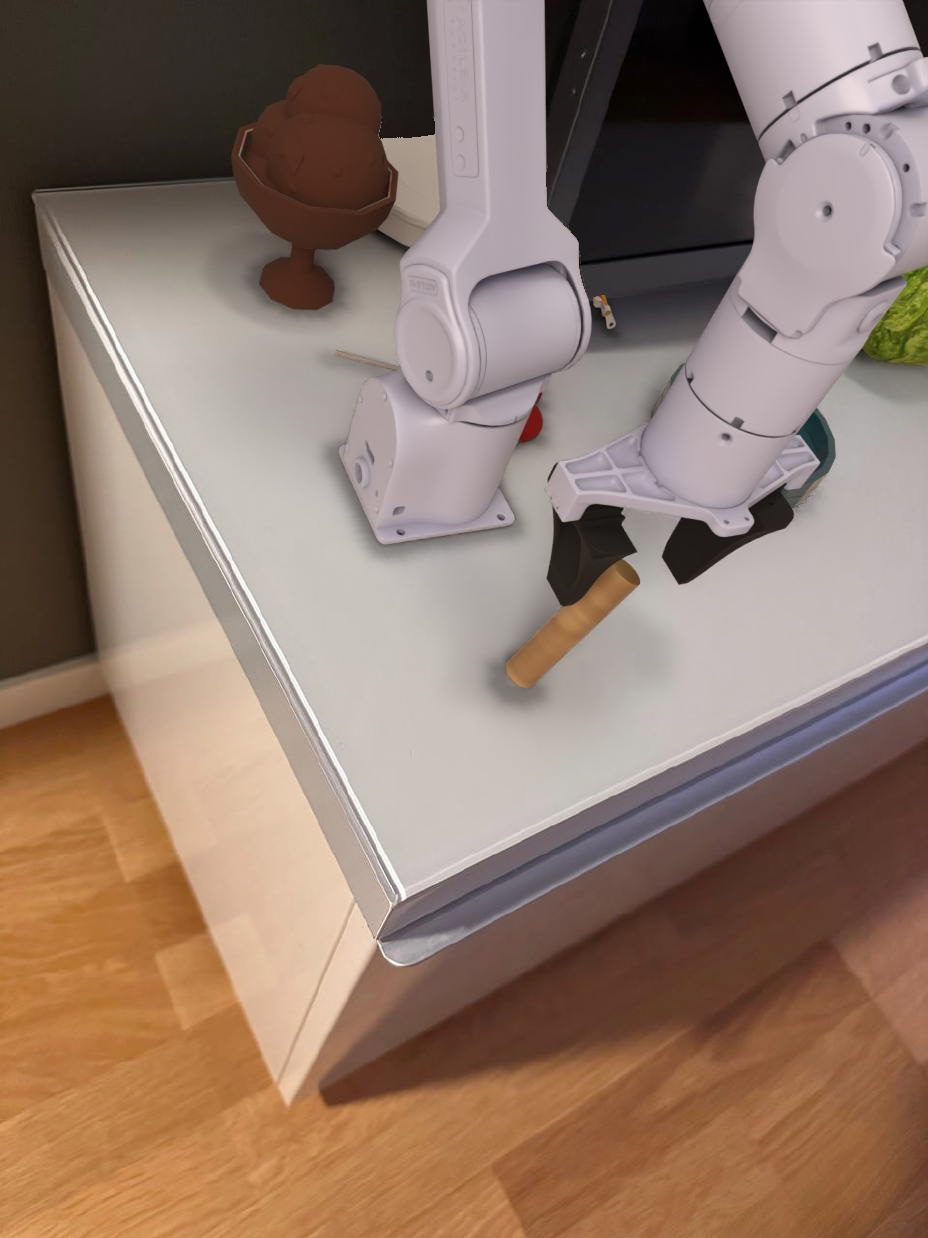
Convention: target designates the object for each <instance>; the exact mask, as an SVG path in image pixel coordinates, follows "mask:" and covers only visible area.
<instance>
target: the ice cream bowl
mask: <svg viewBox="0 0 928 1238" xmlns="http://www.w3.org/2000/svg"><path fill="white" fill-rule="evenodd" d="M371 85H372V84H370V83H369V81H368V80H367V79H366V77H363V76H362V75H361V74H360V73H358V72H356V71H355V70H354V69H351V68H349V67H345V66H341V65H337V64H335V65H334V64H323V63H318V64H316V65H315V66H314V68H310V69H309V70H307V71H306V72H305V73H304V74H303V75H300V76H298V77H296V78H294V80H292V82H291V83H290V85H289V86H288V89H287V92H286V97H285V99H283V100H278V101H277V102H274V103H273V104H269V105H267V106H266V107H265V108H264V110H263V112H261V114H260V115H259V117H258V118H257V121H256V122H252V123H250V124H246V125H244V126H240V127H239V128H238V130H237V134H236V137H235V139H234V144H233V148H232V151H231V153H230V159H231V166H232V176H233V180H234V181H235V184H236V188H237V190H238V192H239V194H240V197H241V198H242V199H243V200H244V201H245V203H246V204H247V205H248V206H249V208H250V209H251V210H252V212H254V214H255V215H256V216H257V217H258V219H259V220H260V221H261V222H262V224H263V225H264V226H265V227H266V228H267V229H268V230H269V232H270V233H271V234H273V235H275V236H276V237H278V238H280V239H282V240H283V241H286V242H288V243H291V250H290V255H289V257H288V256H284V257H283V256H280V257H278V258H275V259H274V260H271V261H269V262H266V263H265V264H264V265H263V267H262V270H261V274H260V278H259V281H258V282H259V283H258V284H259V286H260V287H261V288H262V290H263V291H264V293H265V294H266V295H267V296H268V297H269V299H270V300H272V301H275V302H276V303H278V304H281V305H283V306H284V307H285V306H286V307H287V308H290V309H292V310H307V311H308V310H309V311H317V310H320V309H321V308H323V307H325V306H328V305H330V304H331V303H333V302H334V294H335V281H334V280H333V279H332V277H331V276H330V275H329V274H328V272H327V271H326V270H325V269H324V268H323V266H321V265H318V264H316V263H315V262H314V261H315V255H316V251H317V250H322V251H334V250H335V251H337V250H339V249H340V248H343V247H346V246H347V245H349V244H351V243H353V242H356V241H358V240H360V239H362V238H363V237H366V236H368V235H370V234H372V233H374V232H376V231H377V230H378V228H379V227H380V226H381V224H382V223H383V222H384V221H385V220H386V219H387V218H388V215H389V213H390V211H391V209H392V207H393V205H394V203H395V201H396V194H397V184H398V173H399V172H398V171H397V170H396V169H395V168H394V167H393V166H392V165H391V163H390V162H389V161H388V160H387V156H386V153H385V150H384V147H383V144H382V141H381V139H380V137H379V132H380V128H381V123H382V122H381V118H382V110H383V109H382V103H381V101H380V100H379V98H378V94H377V93H376V91H375V89H374V88H373V87H372V86H371Z"/></svg>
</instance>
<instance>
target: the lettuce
mask: <svg viewBox="0 0 928 1238" xmlns="http://www.w3.org/2000/svg"><path fill="white" fill-rule="evenodd" d="M899 276H903V277H904V278H905V279H906V281H907V285H906V286H905V288H904V289H903V290H902V292H901V293H900V294H899V296H898V297H897V298H896V300H895V301H894V302H893V304H892V305H891V306H890V308H889V309H888V310H887V312H886V313H885V314H884V316H883V317H882V318H881V320H880V321H879V322H878V324H877V325H876V326H875V328H874V329H873V330H872V332H871V333H870V335H869V337H868V339H867V341H866V342H865V344H864V346H863V347H862V348H861V350H862V351H863V352H864V353H865V354H867V355H868V356H869V357H871V358H872V359H873V360H874V361H876V362H878V363H884V364H892V365H903V366H904V365H905V366H920V367H921V366H923V367H928V265H927V266H924V267H921V268H919V269H916V270H913V271H910V272H908V273H905V274H902V275H899Z"/></svg>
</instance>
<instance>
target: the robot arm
mask: <svg viewBox="0 0 928 1238" xmlns="http://www.w3.org/2000/svg"><path fill="white" fill-rule="evenodd" d="M702 2H703V4H704V6H705V8H706V11H707V14H708V16H709V20H710V22H711V24H712V27H713V31H714V32H715V35H716V37H717V40H718V43H719V45H720V47H721V50H722V53H723V54H724V58H725V60H726V64H727V66H728V68H729V72H730V74H731V76H732V78H733V81H734V84H735V86H736V89H737V91H738V94H739V97H740V99H741V102H742V104H743V107H744V110H745V112H746V115H747V118H748V120H749V123H750V126H751V128H752V131H753V134H754V136H755V139H756V141H757V143H758V147H759V149H760V151H761V155H762V157H763V159H764V162H765V164H764V166H763V168H762V171H761V174H760V176H759V180H758V183H757V186H756V191H755V195H754V202H753V203H754V204H753V227H754V231H753V232H754V235H753V242H752V247H751V249H750V252H749V254H748V255H747V257H746V258H745V260H744V262H743V264H742V265H741V267H740V268H739V270H738V271H737V273H736V275H735V276H734V278H733V279H732V282H731V284H730V286H729V287H728V289H727V290H726V292H725V294H724V295H723V297H722V299H721V301H720V303H719V304H718V306H717V307H716V309H715V311H714V313H713V314H712V315H711V318H710V319H709V321H708V323H707V325H706V326H705V328H704V330H703V331H702V333H701V334H700V336H699V338H698V340H697V342H696V343H695V345H694V347H693V349H692V350H691V352H690V353H689V356H687V359H686V360H685V361H684V362H683V363H684V365H683V367H682V369H681V370H680V372H679V374H678V375H677V377H676V379H675V380H674V382H673V384H672V386H671V387H670V389H669V391H668V392H667V394H666V396H665V398H664V399H663V401H662V403H661V404H660V406H659V408H658V410H657V411H656V413H655V415H654V416H653V415H652V418H651V420H649V421H647V422H646V423H643V424H642V425H640V426H638V427H636V428H635V429H632V430H630V431H628V432H627V433H624V434H623V435H621V436H619V437H618V438H615V439H613V440H611V441H610V442H608V443H606V444H604V445H602V446H600V447H599V448H596V449H595V450H592V451H591V452H588V453H586V454H584V455H581V456H579V457H575V458H569V459H561V460H559V461H557V462H555V464H554V465H553V466H552V468H551V470H550V472H549V474H548V476H547V481H546V482H547V484H546V486H545V487H544V492H545V494H546V496H547V497H548V499H549V502H550V504H551V509H552V521H553V525H552V527H553V533H552V545H551V552H550V557H549V564H548V569H547V574H546V580H547V583H548V584H549V586H550V589H551V590H552V592H553V593H554V596H555V598H556V599H557V601H558V603H559V605H560V607H561V606H562V607H565V606H570V605H573V604H575V603H576V602H578V601H579V600H580V599H581V598H582V597H583V596H584V595H585V594H586V593H587V592H588V590H589V589H590V588H591V587H592V585H593V584H594V583H595V581H596V580H597V579H598V578H599V577H600V576H601V575H602V574H603V573H604V572H605V571H606V570H607V569H608V568H609V567H611V566H612V565H613V564H615V563H616V562H618V561H619V560H621V559H623V560H624V558H626V557H629V556H632V555H634V554H637V553H639V552H638V549H637V548H636V546H635V544H634V543H633V541H632V539H631V538H630V536H629V535H628V533H627V531H626V529H625V528H624V526H623V523H624V521H625V519H626V515H625V514H623V511H624V509H629V510H635V511H641V512H647V513H648V512H649V513H654V514H660V515H666V516H672V517H678V518H680V519H679V520H678V522H677V524H676V525H675V527H674V529H672V533H671V534H670V536H669V537H668V540H667V542H665V543H666V544H665V546H664V549H663V551H662V554H661V558H662V561H663V562H664V564H665V565H666V567H667V569H668V570H669V571H670V574H671V575H672V577H673V578H674V580H675V582H676V583H677V585H678V586H680V585H687V584H688V583H690V582H692V581H693V580H695V579H697V578H699V577H700V576H701V575H702V574H704V573H705V572H706V571H708V570H710V569H711V568H712V567H713V566H715V565H717V563H719V562H720V561H722V560H723V559H725V558H726V557H727V556H729V555H730V554H732V553H734V552H735V551H737V550H738V549H740V548H742V547H744V546H746V545H747V544H749V543H752V542H753V541H755V540H758V539H760V538H763V537H765V536H767V535H770V534H772V533H775V532H778V531H781V530H784V529H786V528H787V527H788V526H789V525H790V524H791V523H792V521H794V518H795V513H794V510H793V509H794V508H791V506H790V504H789V503H788V502H787V500H786V499H785V497H784V496H783V494H782V493H781V491H782V490H783V488H784V489H786V490H792V489H799V488H801V486H802V485H803V484H804V483H805V482H806V480H807V479H808V478H809V477H810V475H811V474H812V473H813V472H814V470H815V469H816V468H817V467H818V466H819V464H820V461H819V460H818V459H817V457H816V456H815V455H814V453H813V452H812V451H811V449H810V448H809V447H808V445H807V444H806V443H805V441H804V440H803V439H802V437H801V436H800V435H796V434H797V432H798V431H799V430H800V428H801V427H802V426H803V425H804V424H805V422H806V421H807V420H808V418H809V417H810V416H811V414H812V413H813V412H814V410H815V409H816V408H817V409H818V407H819V405H820V404H821V402H822V401H823V400H824V399H825V397H826V396H827V395H828V394H829V392H830V391H831V389H832V388H833V387H834V385H835V384H836V383H837V381H838V380H839V379H840V378H841V376H842V375H843V373H844V372H845V371H846V369H848V367H849V365H850V364H851V363H852V361H853V360H854V359H855V358H856V356H857V355H858V354H859V352H860V351H861V350H862V349H861V348H862V347H863V346H864V344H865V342H866V341H867V339H868V337H869V335H870V333H871V332H872V330H873V329H874V328H875V326H876V325H877V324H878V322H879V321H880V320H881V318H882V317H883V316H884V314H885V313H886V312H887V310H888V309H889V308H890V306H891V305H892V304H893V302H894V301H895V300H896V298H897V297H898V296H899V294H900V293H901V292H902V290H903V289H904V288H905V286H906V285H907V281H906V279H905V278H904V277H903V276H899V275H902V274H905V273H908V272H910V271H913V270H916V269H919V268H921V267H924V266H927V265H928V56H926V57H924V55H923V52H922V51H921V47H920V44H919V41H918V39H917V36H916V34H915V33H916V32H915V30H914V28H913V24H912V22H911V20H910V17H909V14H908V11H907V9H906V6H905V3H904V1H903V0H702ZM545 6H546V4H545V0H426V9H427V24H428V25H427V26H428V40H429V41H428V42H429V57H430V74H431V87H432V103H433V118H434V121H435V136H436V152H437V168H438V183H439V199H440V211H439V213H438V215H437V216H436V217H435V219H434V220H433V221H432V222H431V224H430V225H429V226H428V227H427V228H426V229H425V231H424V232H423V233H422V234H421V235H420V236H419V238H418V239H417V240H416V241H415V242H414V244H413V245H412V246H411V247H408V249H407V251H406V252H405V253H404V255H402V257H401V259H400V261H399V272H400V299H399V305H398V309H397V313H396V317H395V324H394V337H393V338H394V348H395V354H396V358H397V361H398V364H399V367H401V368H399V369H398V370H395V371H394V370H391V371H389V372H387V373H382V374H379V375H375V376H371V377H369V378H367V379H366V380H365V381H364V382H363V383H362V385H361V386H360V390H359V392H358V396H357V399H356V404H355V408H354V410H353V411H354V412H353V415H352V419H351V424H350V427H349V432H348V436H347V439H346V444H341V445H340V446H339V449H338V451H337V453H338V456H339V459H340V461H341V463H342V465H343V468H344V469H345V472H346V474H347V476H348V478H349V481H350V483H351V485H352V488H353V490H354V491H355V494H356V496H357V499H358V501H359V503H360V506H361V507H362V509H363V512H364V514H365V516H366V518H367V520H368V522H369V525H370V528H371V529H372V532H373V533H374V536H375V539H376V540H377V541H378V542H379V543H380V544H382V545H391V544H399V543H403V542H412V541H418V540H424V539H430V538H432V539H433V538H437V537H444V536H450V535H451V536H452V535H456V534H457V535H458V534H463V533H470V532H476V531H483V530H490V529H496V528H503V527H509V526H512V525H513V524H514V522H515V520H516V516H515V514H514V512H513V511H512V509H511V507H510V505H509V503H508V501H507V500H506V497H505V496H504V494H503V492H502V489H501V488H500V487H499V485H500V483H501V481H502V479H503V476H504V474H505V472H506V470H507V467H508V465H509V462H510V460H511V458H512V456H513V454H514V451H515V449H516V447H517V445H518V443H519V442H518V440H519V438H520V436H521V433H522V431H523V429H524V427H525V424H526V422H527V420H528V418H529V415H530V413H531V411H532V408H533V406H534V404H535V405H536V403H535V402H536V400H537V397H538V394H539V393H540V392H542V391H543V392H545V391H546V389H547V386H548V384H549V382H550V380H551V377H552V375H553V374H555V373H561V372H565V371H567V370H570V369H571V368H573V367H575V366H576V365H577V364H578V362H580V361H581V359H582V358H583V357H584V355H585V354H586V351H587V349H588V346H589V344H590V340H591V335H592V321H593V320H592V311H591V306H590V301H589V298H588V295H587V292H585V291H586V288H585V289H584V286H585V285H584V286H583V283H582V279H581V275H580V269H579V257H580V251H579V242H578V240H577V238H576V237H575V236H574V235H573V234H572V233H571V230H570V229H569V227H568V228H567V227H565V226H564V225H563V222H562V221H560V219H558V217H556V215H555V214H554V213H552V212H551V211H550V210H549V209H548V207H547V187H546V172H547V109H546V108H547V106H546V98H547V97H546V95H547V94H546V93H547V92H546V19H545V18H546V14H545V13H546V11H545V10H546V8H545Z"/></svg>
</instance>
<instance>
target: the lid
mask: <svg viewBox="0 0 928 1238" xmlns="http://www.w3.org/2000/svg"><path fill="white" fill-rule="evenodd" d="M381 141H382V144H383V147H384V150H385V153H386V156H387V160H388V161H389V162H390V163H391V165H392V166H393V167H394V168H395V169H396V170H397V171H398V172H399V173H398V184H397V194H396V201H395V203H394V205H393V207H392V209H391V211H390V213H389V215H388V218H387V219H386V220H385V221H384V222H383V223H382V224H381V226H380V227H379V228H378V229H377V230H378V231H379V232H381V233H382V234H384V235H386V236H387V237H389V238H391V239H392V240H394V241H396V242H397V243H399V244H401V245H402V246H405V247H408V248H410V247H411V246H412V245H413V244H414V242H415V241H416V240H417V239H418V238H419V236H420V235H421V234H422V233H423V232H424V231H425V229H426V228H427V227H428V226H429V225H430V224H431V222H432V221H433V220H434V219H435V217H436V216H437V215H438V213H439V211H440V199H439V183H438V168H437V152H436V136H435V134H434V135H428V136H421V137H412V138H403V137H401V138H400V137H399V138H398V137H397V138H383V139H382V138H381Z"/></svg>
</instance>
